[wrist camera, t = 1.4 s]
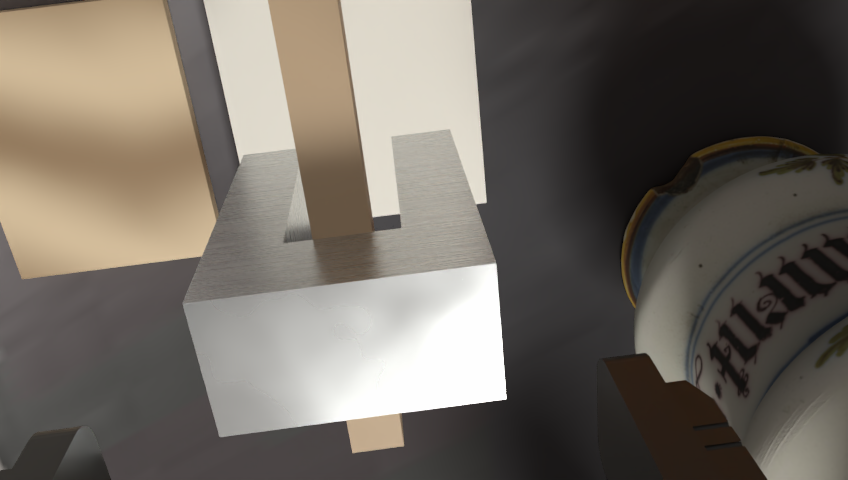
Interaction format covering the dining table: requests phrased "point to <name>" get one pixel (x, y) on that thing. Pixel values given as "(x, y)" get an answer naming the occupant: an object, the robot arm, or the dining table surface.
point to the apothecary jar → (752, 295)
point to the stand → (349, 106)
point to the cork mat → (98, 139)
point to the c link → (346, 300)
